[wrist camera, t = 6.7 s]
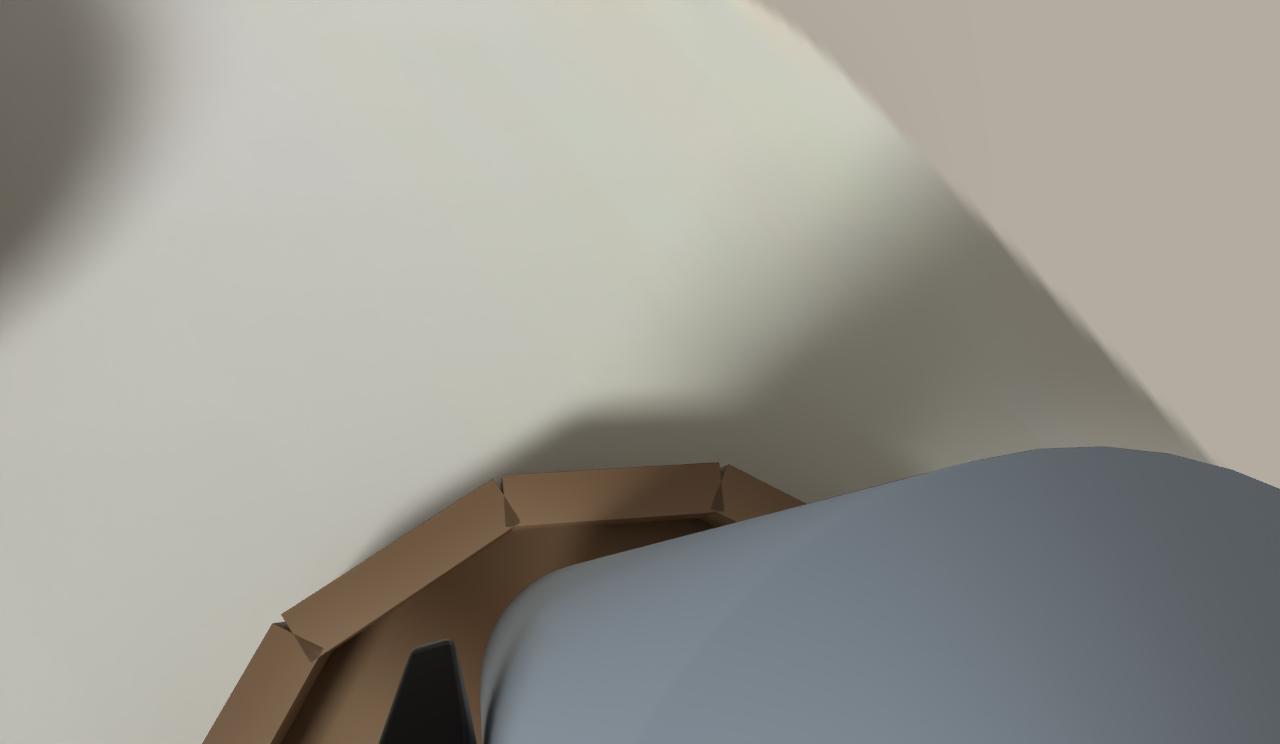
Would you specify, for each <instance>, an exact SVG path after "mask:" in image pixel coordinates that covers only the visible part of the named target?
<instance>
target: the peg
mask: <svg viewBox="0 0 1280 744" xmlns="http://www.w3.org/2000/svg"><path fill="white" fill-rule="evenodd" d="M480 702H481V726H482V744H1280V489H1278V488H1276V487H1273V486H1271V485H1268V484H1266V483H1263V482H1261V481H1258V480H1256V479H1253V478H1251V477H1249V476H1246V475H1244V474H1241V473H1239V472H1236V471H1234V470H1230V469H1227V468H1223V467H1219V466H1215V465H1211V464H1207V463H1203V462H1199V461H1195V460H1191V459H1187V458H1184V457H1180V456H1176V455H1172V454H1167V453H1158V452H1149V451H1140V450H1131V449H1122V448H1113V447H1077V448H1048V449H1035V450H1030V451H1024V452H1019V453H1014V454H1008V455H1003V456H998V457H992V458H987V459H982V460H976V461H971V462H968V463H964V464H960V465H956V466H952V467H948V468H944V469H941V470H937V471H933V472H929V473H925V474H921V475H917V476H914V477H910V478H906V479H902V480H898V481H894V482H891V483H887V484H883V485H879V486H875V487H871V488H867V489H864V490H860V491H856V492H852V493H848V494H844V495H840V496H837V497H833V498H829V499H825V500H821V501H817V502H813V503H810V504H806V505H802V506H798V507H794V508H790V509H786V510H783V511H779V512H775V513H771V514H767V515H763V516H759V517H756V518H752V519H748V520H744V521H740V522H736V523H733V524H729V525H725V526H721V527H717V528H713V529H709V530H706V531H702V532H698V533H694V534H690V535H686V536H682V537H679V538H675V539H671V540H667V541H663V542H659V543H655V544H652V545H648V546H644V547H640V548H636V549H632V550H628V551H625V552H621V553H617V554H613V555H609V556H605V557H601V558H598V559H594V560H590V561H586V562H582V563H578V564H574V565H571V566H567V567H564V568H561V569H558V570H555V571H553V572H551V573H549V574H547V575H545V576H543V577H541V578H539V579H538V580H536V581H535V582H533V583H532V584H530V585H529V586H528V587H526V588H525V589H524V590H523V591H522V592H521V593H520V594H518V595H517V596H516V597H515V599H514V600H513V601H512V602H511V603H510V604H509V605H508V606H507V608H506V609H505V611H504V612H503V613H502V615H501V616H500V618H499V619H498V621H497V623H496V625H495V627H494V629H493V631H492V633H491V635H490V638H489V640H488V643H487V646H486V648H485V652H484V656H483V661H482V666H481V675H480Z"/></svg>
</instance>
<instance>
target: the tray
mask: <svg viewBox="0 0 1280 744" xmlns="http://www.w3.org/2000/svg"><path fill="white" fill-rule="evenodd" d="M500 488H501V490H500V489H499V487H498V485H497V484H496V482H495V481H494V479H491V480H490V481H488V482H487V483H485V484H483V485H482V486H480V487H479V488H477V489H476V490H474V491H473V492H471V493H469V494H468V495H466V496H465V497H463V498H462V499H460V500H459V501H457V502H455V503H454V504H452V505H451V506H449V507H448V508H446V509H445V510H443V511H441V512H440V513H438V514H437V515H435V516H434V517H432V518H431V519H429V520H427V521H426V522H424V523H423V524H421V525H420V526H418V527H417V528H415V529H413V530H412V531H410V532H409V533H407V534H406V535H404V536H403V537H401V538H399V539H398V540H396V541H395V542H393V543H392V544H390V545H389V546H387V547H385V548H384V549H382V550H381V551H379V552H378V553H376V554H375V555H373V556H371V557H370V558H368V559H367V560H365V561H364V562H362V563H361V564H359V565H357V566H356V567H354V568H353V569H351V570H350V571H348V572H347V573H345V574H343V575H342V576H340V577H339V578H337V579H336V580H334V581H333V582H331V583H329V584H328V585H326V586H325V587H323V588H322V589H320V590H319V591H317V592H315V593H314V594H312V595H311V596H309V597H308V598H306V599H305V600H303V601H301V602H300V603H298V604H297V605H295V606H294V607H292V608H290V609H289V610H287V611H286V612H284V613H283V614H281V615H282V617H283V618H284V620H285V622H280V623H273V624H272V625H271V627H270V629H269V630H268V632H267V634H266V635H265V637H264V639H263V641H262V642H261V644H260V646H259V647H258V649H257V651H256V652H255V654H254V656H253V658H252V659H251V661H250V663H249V664H248V666H247V668H246V670H245V671H244V673H243V675H242V676H241V678H240V680H239V682H238V683H237V685H236V687H235V688H234V690H233V692H232V694H231V695H230V697H229V699H228V700H227V702H226V704H225V706H224V707H223V709H222V711H221V712H220V714H219V716H218V718H217V719H216V721H215V723H214V724H213V726H212V728H211V730H210V731H209V733H208V735H207V736H206V738H205V740H204V741H203V743H202V744H378V743H379V740H380V737H381V734H382V731H383V728H384V725H385V722H386V719H387V717H388V714H389V711H390V708H391V705H392V702H393V699H394V696H395V693H396V690H397V687H398V685H399V682H400V679H401V676H402V673H403V670H404V667H405V664H406V661H407V658H408V656H409V654H410V652H411V651H412V650H413V649H414V648H415V647H417V646H420V645H423V644H427V643H431V642H434V641H438V640H441V639H445V638H449V639H452V640H453V641H454V643H455V645H456V649H457V653H458V658H459V662H460V666H461V670H462V674H463V679H464V683H465V687H466V691H467V696H468V700H469V705H470V710H471V715H472V720H473V725H474V731H475V736H476V741H477V744H482V726H481V702H480V675H481V666H482V661H483V656H484V652H485V648H486V646H487V643H488V640H489V638H490V635H491V633H492V631H493V629H494V627H495V625H496V623H497V621H498V619H499V618H500V616H501V615H502V613H503V612H504V611H505V609H506V608H507V606H508V605H509V604H510V603H511V602H512V601H513V600H514V599H515V597H516V596H517V595H518V594H520V593H521V592H522V591H523V590H524V589H525V588H526V587H528V586H529V585H530V584H532V583H533V582H535V581H536V580H538V579H539V578H541V577H543V576H545V575H547V574H549V573H551V572H553V571H555V570H558V569H561V568H564V567H567V566H571V565H574V564H578V563H582V562H586V561H590V560H594V559H598V558H601V557H605V556H609V555H613V554H617V553H621V552H625V551H628V550H632V549H636V548H640V547H644V546H648V545H652V544H655V543H659V542H663V541H667V540H671V539H675V538H679V537H682V536H686V535H690V534H694V533H698V532H702V531H706V530H709V529H713V528H717V527H721V526H725V525H729V524H733V523H736V522H740V521H744V520H748V519H752V518H756V517H759V516H763V515H767V514H771V513H775V512H779V511H783V510H786V509H790V508H794V507H798V506H802V505H806V503H804V502H802V501H800V500H798V499H796V498H794V497H792V496H790V495H788V494H786V493H784V492H782V491H780V490H778V489H776V488H774V487H772V486H770V485H768V484H766V483H764V482H762V481H760V480H758V479H756V478H754V477H752V476H750V475H749V474H747V473H745V472H743V471H741V470H739V469H737V468H735V467H733V466H731V465H729V464H728V465H726V466H724V467H722V468H720V465H719V462H717V463H700V464H683V465H666V466H649V467H632V468H615V469H598V470H582V471H565V472H548V473H531V474H514V475H503V477H502V481H501V484H500Z"/></svg>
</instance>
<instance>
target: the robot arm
mask: <svg viewBox="0 0 1280 744" xmlns="http://www.w3.org/2000/svg"><path fill="white" fill-rule="evenodd" d="M378 744H477V741H476V736H475V731H474V725H473V720H472V715H471V710H470V705H469V700H468V696H467V691H466V687H465V683H464V679H463V674H462V670H461V666H460V662H459V658H458V653H457V649H456V645H455V643H454V641H453V640H452V639H449V638H445V639H441V640H438V641H434V642H431V643H427V644H423V645H420V646H417V647H415V648H414V649H413V650H412V651H411V652H410V654H409V656H408V658H407V661H406V664H405V667H404V670H403V673H402V676H401V679H400V682H399V685H398V687H397V690H396V693H395V696H394V699H393V702H392V705H391V708H390V711H389V714H388V717H387V719H386V722H385V725H384V728H383V731H382V734H381V737H380V740H379V743H378Z"/></svg>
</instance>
